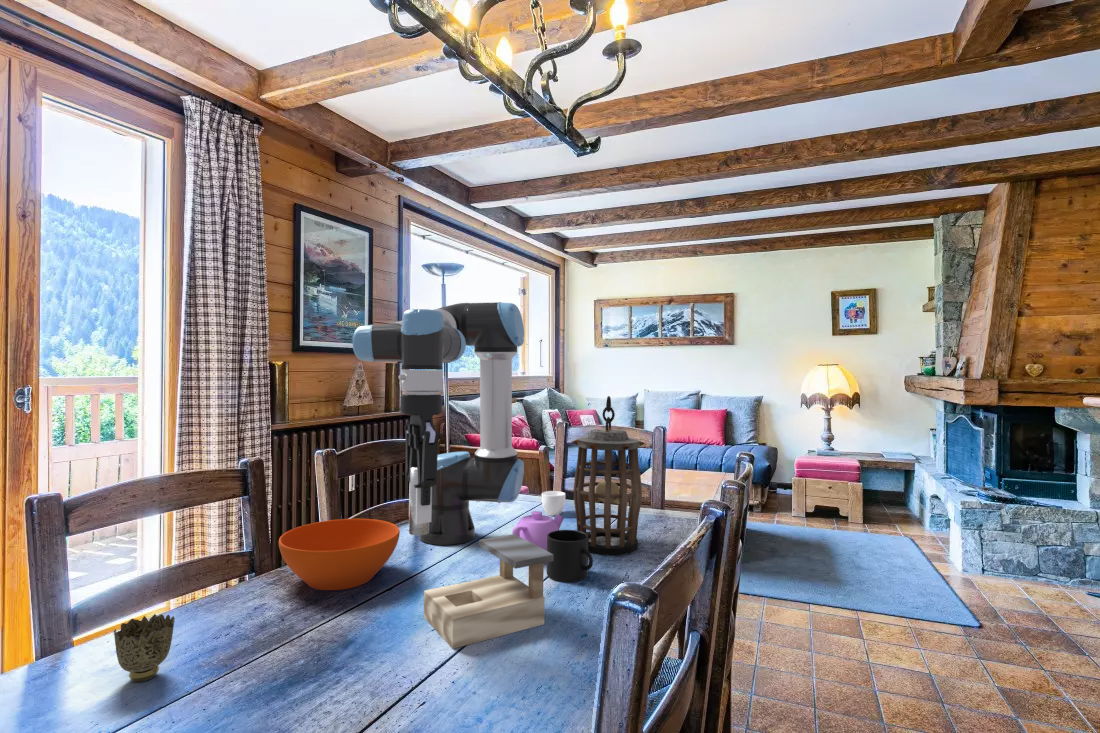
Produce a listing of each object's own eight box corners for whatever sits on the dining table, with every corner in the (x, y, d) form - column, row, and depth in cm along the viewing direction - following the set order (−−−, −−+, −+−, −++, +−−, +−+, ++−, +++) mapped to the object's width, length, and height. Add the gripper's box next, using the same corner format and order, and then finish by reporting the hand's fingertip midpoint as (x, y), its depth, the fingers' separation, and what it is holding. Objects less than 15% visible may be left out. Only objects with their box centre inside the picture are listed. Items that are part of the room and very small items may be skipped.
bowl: (421, 578, 127) (421, 533, 127) (309, 612, 109) (310, 560, 109) (364, 552, 144) (364, 513, 144) (259, 578, 126) (259, 533, 126)
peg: (406, 531, 106) (408, 466, 106) (425, 528, 108) (426, 465, 108) (412, 536, 103) (413, 469, 103) (431, 533, 105) (433, 468, 105)
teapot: (582, 548, 149) (582, 508, 149) (535, 569, 133) (536, 524, 133) (540, 538, 158) (540, 500, 158) (491, 557, 141) (492, 514, 142)
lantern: (636, 561, 140) (638, 398, 140) (561, 552, 146) (563, 396, 146) (648, 539, 158) (650, 395, 158) (581, 532, 164) (583, 393, 165)
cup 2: (134, 665, 89) (134, 613, 89) (183, 663, 89) (184, 612, 89) (100, 692, 81) (101, 636, 81) (155, 690, 82) (155, 634, 82)
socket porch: (422, 616, 107) (423, 548, 108) (513, 595, 118) (514, 534, 118) (453, 650, 95) (454, 573, 95) (552, 623, 105) (553, 554, 105)
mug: (578, 589, 122) (579, 547, 122) (538, 575, 130) (538, 535, 130) (605, 577, 129) (605, 537, 129) (565, 564, 137) (565, 527, 137)
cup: (536, 515, 183) (536, 494, 183) (553, 508, 191) (553, 488, 191) (556, 518, 179) (556, 497, 179) (573, 512, 187) (573, 491, 187)
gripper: (389, 391, 111) (387, 512, 111) (415, 395, 96) (413, 533, 96) (427, 391, 115) (425, 507, 114) (457, 394, 100) (455, 528, 100)
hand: (419, 519), depth 105 cm, fingers closed on peg, 3 cm apart
